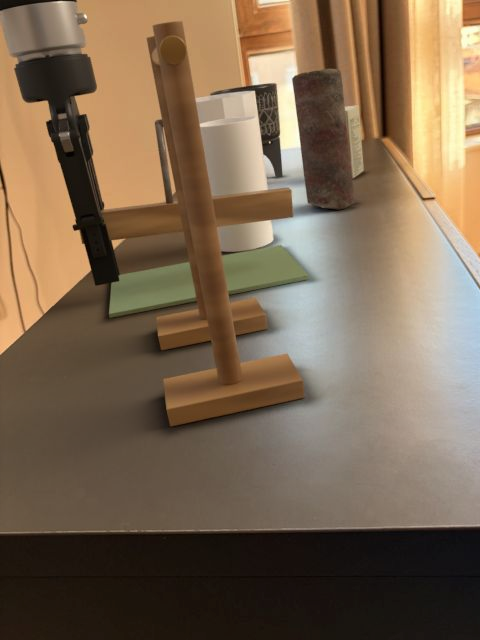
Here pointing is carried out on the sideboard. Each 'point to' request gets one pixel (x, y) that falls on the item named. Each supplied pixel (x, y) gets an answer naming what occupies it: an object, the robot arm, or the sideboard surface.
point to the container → (228, 108)
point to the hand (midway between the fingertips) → (107, 279)
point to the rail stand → (206, 266)
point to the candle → (324, 138)
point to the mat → (178, 286)
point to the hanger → (168, 215)
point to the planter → (266, 120)
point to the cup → (236, 175)
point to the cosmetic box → (354, 139)
